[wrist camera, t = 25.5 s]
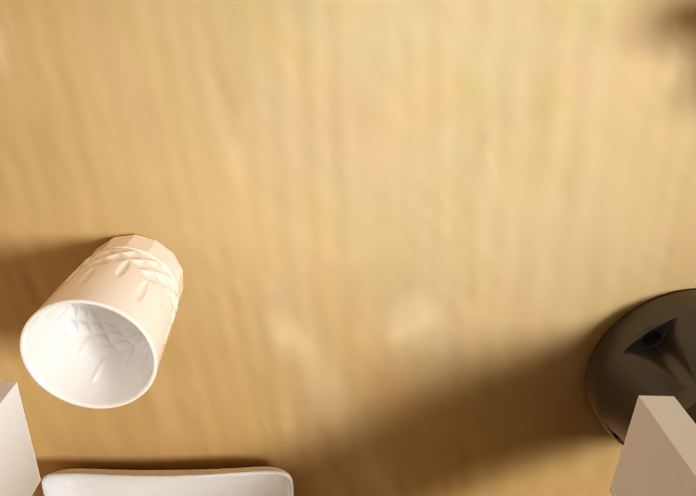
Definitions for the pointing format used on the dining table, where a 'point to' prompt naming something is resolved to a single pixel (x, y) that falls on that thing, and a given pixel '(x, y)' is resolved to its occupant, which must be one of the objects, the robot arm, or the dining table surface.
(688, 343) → the robot arm
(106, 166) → the dining table surface
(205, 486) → the salad plate
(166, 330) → the white cup
